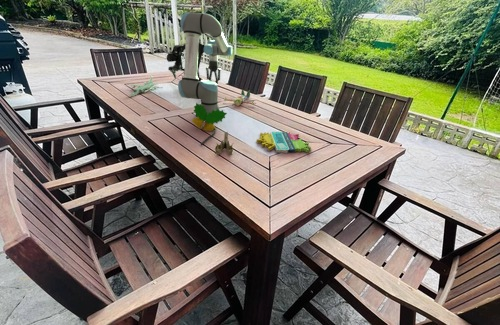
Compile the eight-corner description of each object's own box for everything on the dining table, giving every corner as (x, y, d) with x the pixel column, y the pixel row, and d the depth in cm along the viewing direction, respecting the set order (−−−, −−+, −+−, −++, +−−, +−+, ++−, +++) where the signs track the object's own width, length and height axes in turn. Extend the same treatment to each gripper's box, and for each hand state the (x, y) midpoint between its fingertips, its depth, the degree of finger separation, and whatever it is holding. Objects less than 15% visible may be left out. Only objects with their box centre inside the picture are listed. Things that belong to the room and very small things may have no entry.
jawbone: (234, 135, 144) (233, 125, 135) (233, 160, 138) (232, 151, 129) (217, 135, 144) (216, 125, 135) (216, 160, 138) (214, 150, 129)
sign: (313, 150, 142) (258, 149, 139) (312, 153, 143) (258, 152, 140) (301, 132, 164) (254, 130, 161) (301, 134, 165) (254, 133, 162)
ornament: (218, 133, 171) (224, 110, 169) (221, 134, 163) (227, 111, 161) (186, 125, 162) (192, 101, 160) (189, 126, 155) (195, 101, 153)
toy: (261, 91, 228) (254, 99, 202) (261, 99, 231) (253, 108, 205) (231, 87, 233) (220, 95, 207) (230, 95, 236) (219, 104, 210)
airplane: (123, 87, 237) (120, 75, 231) (158, 84, 250) (157, 74, 245) (127, 99, 208) (125, 87, 203) (167, 96, 221) (166, 84, 216)
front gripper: (202, 59, 221) (202, 87, 233) (221, 61, 218) (221, 90, 230) (205, 58, 228) (206, 85, 239) (224, 60, 225) (223, 88, 236)
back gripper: (164, 61, 225) (166, 79, 233) (184, 63, 222) (185, 82, 229) (170, 59, 235) (172, 77, 242) (190, 61, 231) (190, 79, 239)
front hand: (213, 87), depth 235 cm, fingers closed on block, 4 cm apart
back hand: (179, 79), depth 238 cm, fingers open, 9 cm apart
